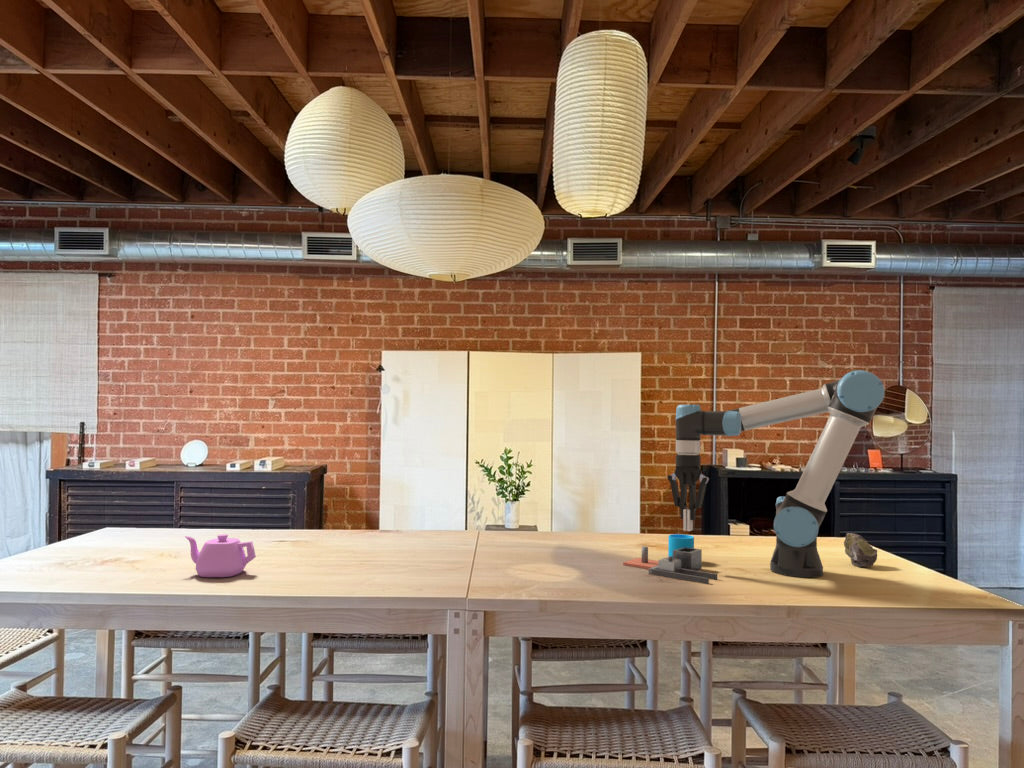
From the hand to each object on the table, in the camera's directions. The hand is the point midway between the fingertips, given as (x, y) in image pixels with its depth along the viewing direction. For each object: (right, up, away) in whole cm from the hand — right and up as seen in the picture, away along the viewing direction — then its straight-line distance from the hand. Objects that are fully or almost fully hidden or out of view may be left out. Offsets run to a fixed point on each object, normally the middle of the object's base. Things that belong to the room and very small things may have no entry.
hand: (688, 530), depth 212 cm
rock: (+58, -14, +11) cm, 61 cm away
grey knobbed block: (-7, -12, -7) cm, 15 cm away
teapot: (-138, -9, -16) cm, 140 cm away
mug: (+1, -13, +15) cm, 20 cm away
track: (-4, -12, -9) cm, 16 cm away
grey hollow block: (0, -12, 0) cm, 12 cm away
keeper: (-12, -12, +6) cm, 18 cm away
